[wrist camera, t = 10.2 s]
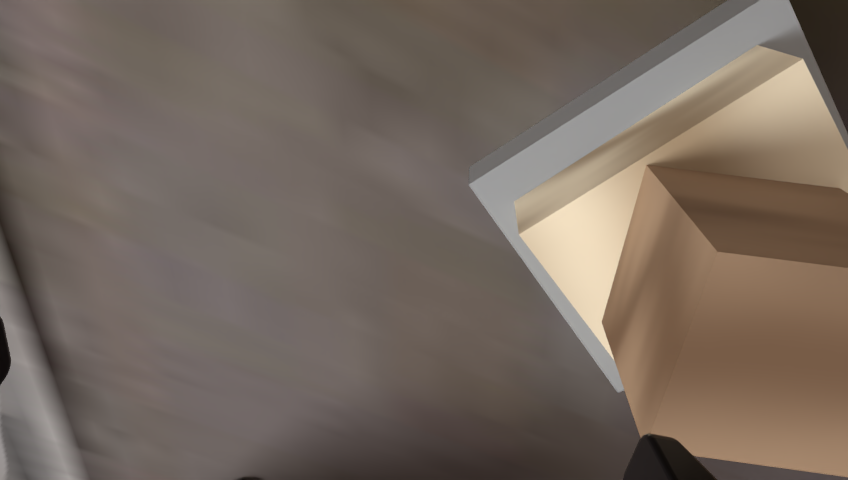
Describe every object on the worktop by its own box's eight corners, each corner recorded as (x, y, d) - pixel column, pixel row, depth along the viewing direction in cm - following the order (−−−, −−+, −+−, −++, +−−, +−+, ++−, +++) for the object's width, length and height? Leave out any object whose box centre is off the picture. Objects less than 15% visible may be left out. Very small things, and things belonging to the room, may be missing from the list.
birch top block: (637, 367, 21) (655, 415, 19) (514, 201, 18) (518, 234, 16) (866, 255, 18) (920, 296, 16) (757, 45, 16) (802, 58, 14)
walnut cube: (769, 344, 17) (872, 480, 13) (601, 322, 17) (644, 449, 13) (840, 188, 15) (995, 286, 10) (646, 165, 15) (717, 251, 10)
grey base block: (605, 351, 24) (617, 392, 21) (470, 160, 21) (468, 184, 18) (858, 231, 20) (905, 264, 18) (744, -18, 17) (782, -15, 15)
